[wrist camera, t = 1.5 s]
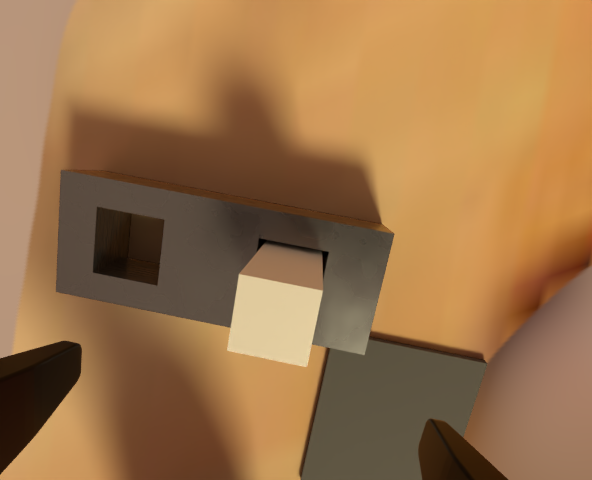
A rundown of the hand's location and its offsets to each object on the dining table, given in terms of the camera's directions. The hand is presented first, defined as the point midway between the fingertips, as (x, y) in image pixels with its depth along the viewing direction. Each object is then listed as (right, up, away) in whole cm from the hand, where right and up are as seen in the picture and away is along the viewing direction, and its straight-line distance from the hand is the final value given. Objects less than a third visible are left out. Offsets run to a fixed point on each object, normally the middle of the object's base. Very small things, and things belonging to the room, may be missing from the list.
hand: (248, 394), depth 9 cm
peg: (+1, +2, +13) cm, 13 cm away
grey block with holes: (-3, +3, +13) cm, 14 cm away
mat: (+8, -9, +15) cm, 19 cm away
